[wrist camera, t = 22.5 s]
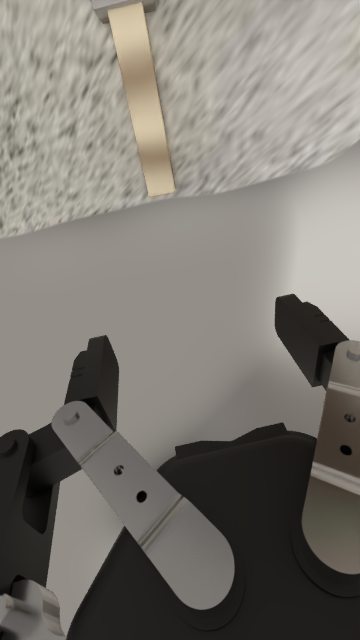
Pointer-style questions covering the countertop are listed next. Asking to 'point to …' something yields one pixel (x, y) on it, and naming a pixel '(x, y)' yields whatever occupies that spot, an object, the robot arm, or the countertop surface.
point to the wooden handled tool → (140, 87)
